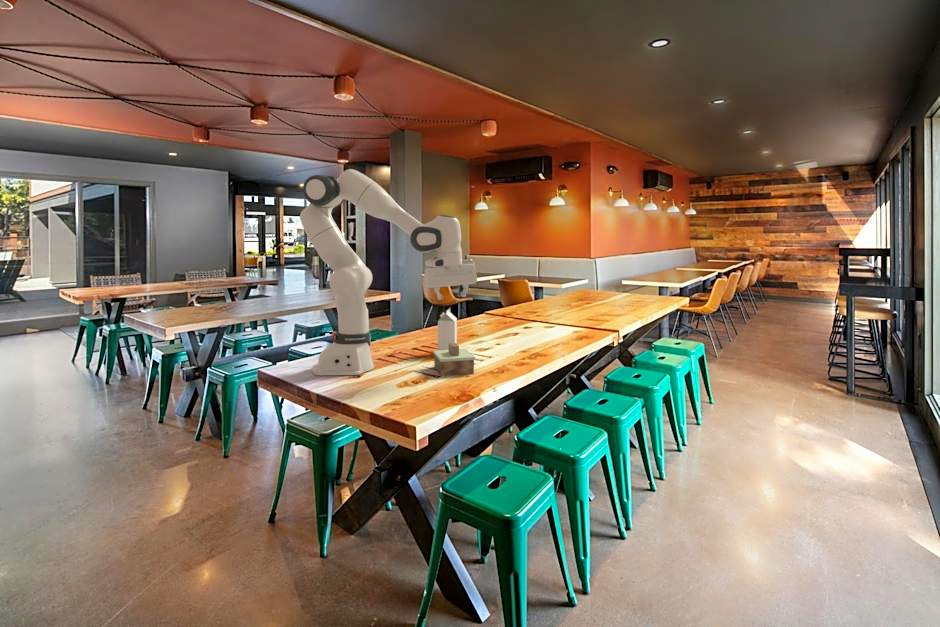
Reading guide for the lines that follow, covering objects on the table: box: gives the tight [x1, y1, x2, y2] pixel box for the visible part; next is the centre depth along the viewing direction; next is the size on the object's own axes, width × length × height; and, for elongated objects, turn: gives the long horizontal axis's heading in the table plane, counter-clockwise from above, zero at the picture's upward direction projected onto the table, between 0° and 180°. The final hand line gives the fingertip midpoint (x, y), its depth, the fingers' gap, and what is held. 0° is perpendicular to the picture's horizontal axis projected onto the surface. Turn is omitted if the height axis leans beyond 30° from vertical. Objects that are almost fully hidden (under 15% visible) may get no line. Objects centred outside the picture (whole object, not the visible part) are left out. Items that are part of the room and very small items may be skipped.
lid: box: [433, 343, 476, 362], centre depth 181 cm, size 13×13×4 cm
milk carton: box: [437, 308, 458, 350], centre depth 206 cm, size 7×7×19 cm
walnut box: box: [433, 354, 475, 377], centre depth 182 cm, size 12×12×6 cm
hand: (452, 298), depth 180 cm, fingers open, 8 cm apart
